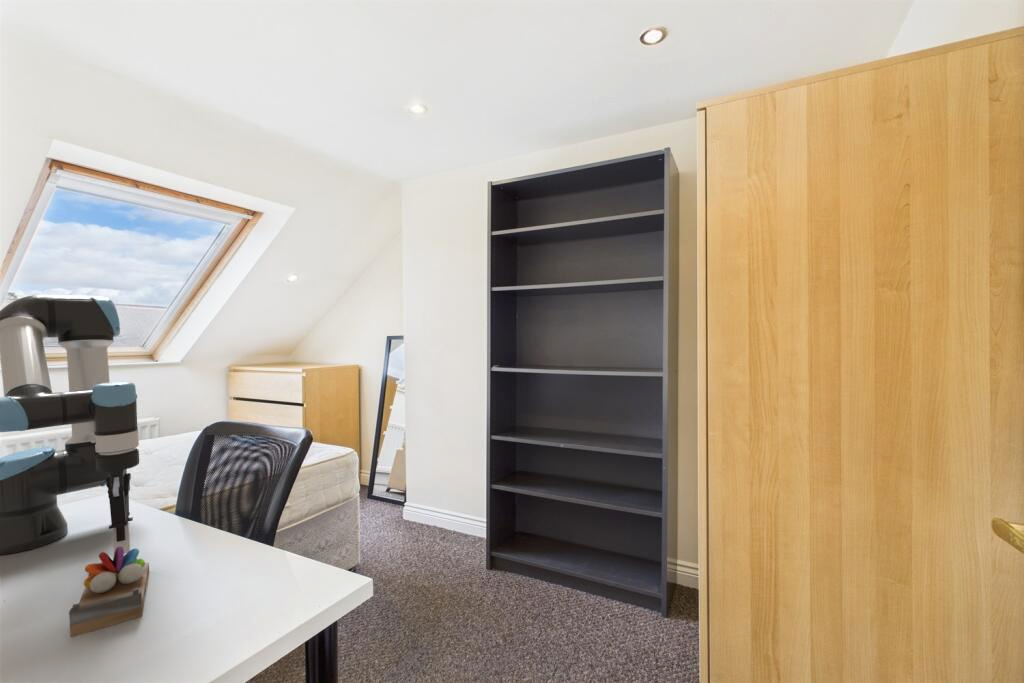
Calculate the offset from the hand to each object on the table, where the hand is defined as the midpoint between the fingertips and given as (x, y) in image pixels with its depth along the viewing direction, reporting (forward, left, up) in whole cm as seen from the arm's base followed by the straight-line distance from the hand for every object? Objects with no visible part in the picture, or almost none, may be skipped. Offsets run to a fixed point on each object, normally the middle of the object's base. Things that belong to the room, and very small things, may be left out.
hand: (122, 552), depth 105 cm
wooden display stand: (+15, 0, -4) cm, 15 cm away
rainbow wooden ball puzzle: (+11, 0, -2) cm, 11 cm away
